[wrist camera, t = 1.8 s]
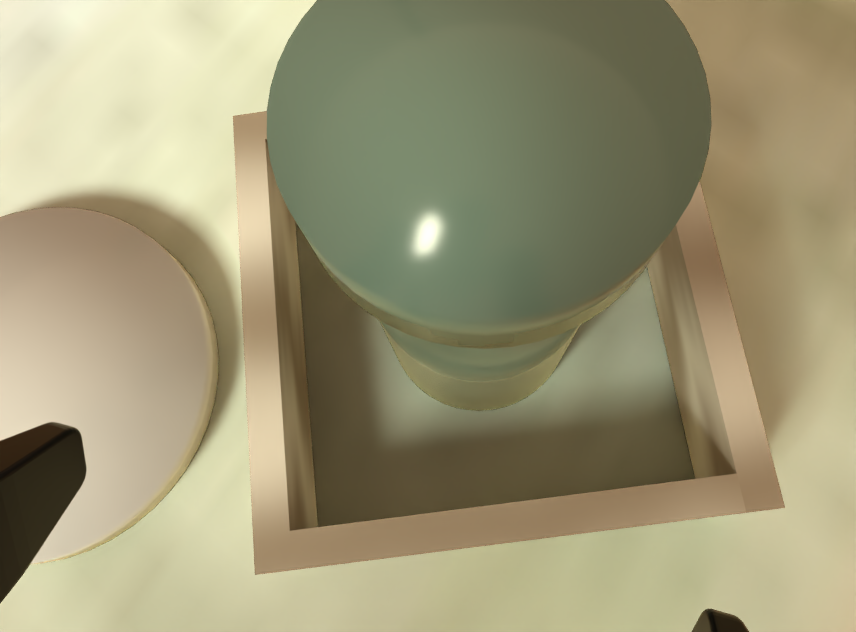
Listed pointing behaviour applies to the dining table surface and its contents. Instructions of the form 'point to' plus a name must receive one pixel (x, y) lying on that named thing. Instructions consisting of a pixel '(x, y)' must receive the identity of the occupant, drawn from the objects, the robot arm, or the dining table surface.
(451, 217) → the flower pot
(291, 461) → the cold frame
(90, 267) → the saucer
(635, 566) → the dining table surface
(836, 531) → the dining table surface
